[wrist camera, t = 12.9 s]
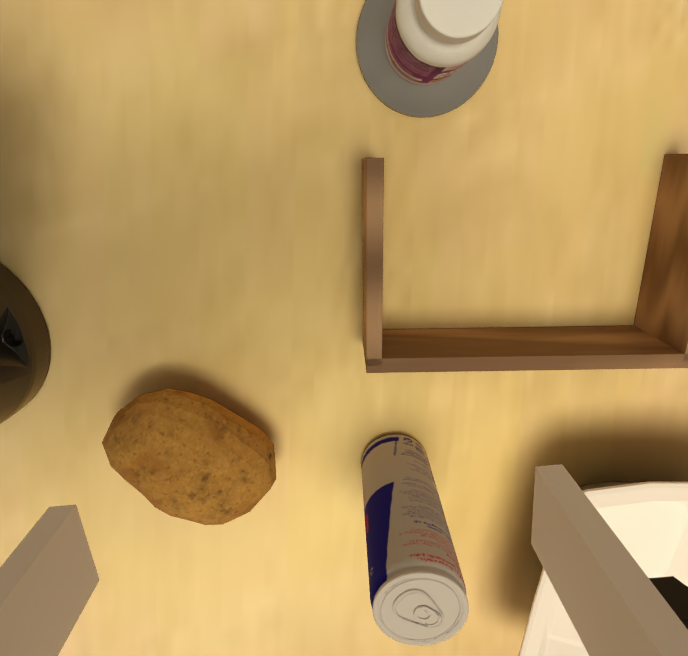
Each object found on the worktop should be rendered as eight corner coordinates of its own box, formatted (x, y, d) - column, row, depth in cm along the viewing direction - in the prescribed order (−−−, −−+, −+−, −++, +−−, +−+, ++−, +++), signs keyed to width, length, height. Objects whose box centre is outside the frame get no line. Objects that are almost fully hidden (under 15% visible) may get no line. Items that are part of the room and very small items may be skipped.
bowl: (784, 433, 41) (891, 498, 33) (696, 636, 48) (766, 729, 40) (527, 410, 40) (573, 471, 32) (476, 620, 48) (503, 712, 40)
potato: (232, 509, 43) (212, 570, 37) (108, 426, 41) (63, 476, 34) (298, 439, 41) (289, 491, 35) (172, 347, 39) (137, 384, 32)
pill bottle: (436, 103, 32) (474, 80, 23) (368, 56, 32) (379, 12, 22) (485, 23, 31) (546, -35, 22) (415, -29, 30) (448, -112, 21)
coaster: (328, 53, 32) (328, 51, 31) (420, -76, 30) (422, -81, 29) (430, 146, 34) (431, 146, 33) (524, 31, 32) (527, 28, 31)
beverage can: (363, 429, 41) (375, 571, 27) (430, 432, 41) (477, 575, 27) (358, 486, 43) (367, 647, 28) (422, 489, 43) (463, 651, 29)
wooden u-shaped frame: (644, 337, 38) (696, 367, 33) (362, 341, 38) (366, 372, 33) (679, 154, 34) (746, 152, 28) (362, 159, 34) (366, 158, 28)
